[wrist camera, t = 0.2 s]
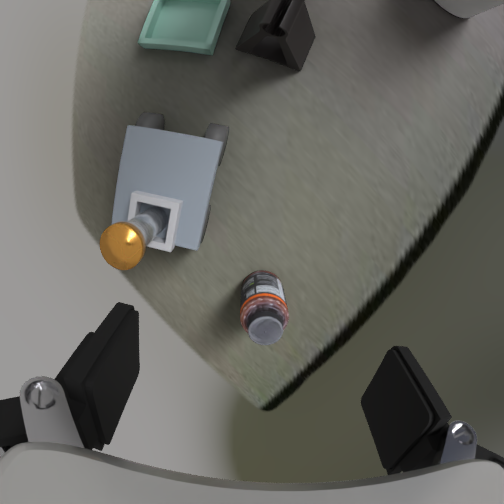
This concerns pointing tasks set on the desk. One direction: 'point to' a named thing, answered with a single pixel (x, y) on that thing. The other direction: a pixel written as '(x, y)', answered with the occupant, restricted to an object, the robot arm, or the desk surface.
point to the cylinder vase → (468, 6)
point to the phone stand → (279, 33)
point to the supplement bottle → (263, 307)
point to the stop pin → (131, 238)
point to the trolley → (169, 178)
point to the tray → (184, 25)
